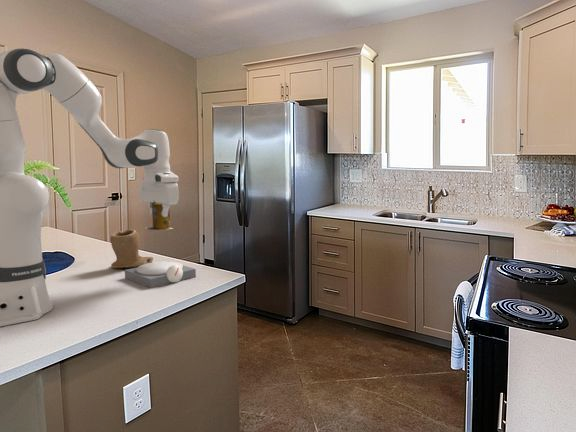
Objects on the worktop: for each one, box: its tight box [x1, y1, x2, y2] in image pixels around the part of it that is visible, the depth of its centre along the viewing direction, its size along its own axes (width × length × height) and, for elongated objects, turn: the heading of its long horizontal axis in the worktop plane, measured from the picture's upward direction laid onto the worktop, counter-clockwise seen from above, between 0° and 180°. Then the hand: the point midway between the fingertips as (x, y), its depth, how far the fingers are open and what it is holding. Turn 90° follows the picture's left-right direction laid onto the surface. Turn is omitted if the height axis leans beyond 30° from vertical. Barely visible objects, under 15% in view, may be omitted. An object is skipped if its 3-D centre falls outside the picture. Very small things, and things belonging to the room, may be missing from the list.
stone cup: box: [109, 229, 154, 269], centre depth 173 cm, size 15×12×15 cm
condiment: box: [144, 201, 174, 232], centre depth 155 cm, size 7×8×12 cm
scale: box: [124, 260, 197, 289], centre depth 158 cm, size 18×19×6 cm
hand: (159, 215), depth 155 cm, fingers closed on condiment, 6 cm apart
